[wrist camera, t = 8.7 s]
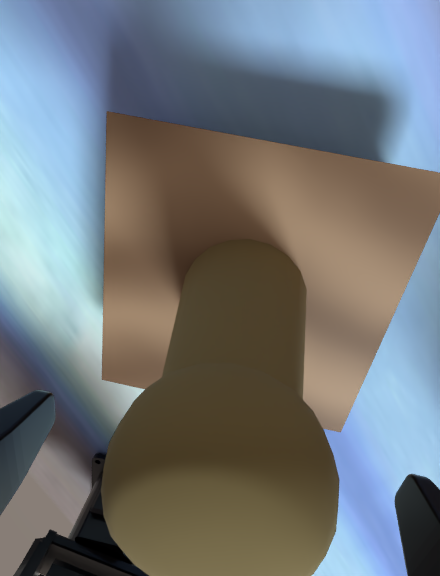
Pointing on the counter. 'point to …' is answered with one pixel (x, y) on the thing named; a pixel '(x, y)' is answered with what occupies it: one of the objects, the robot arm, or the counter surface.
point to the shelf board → (264, 228)
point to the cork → (226, 432)
